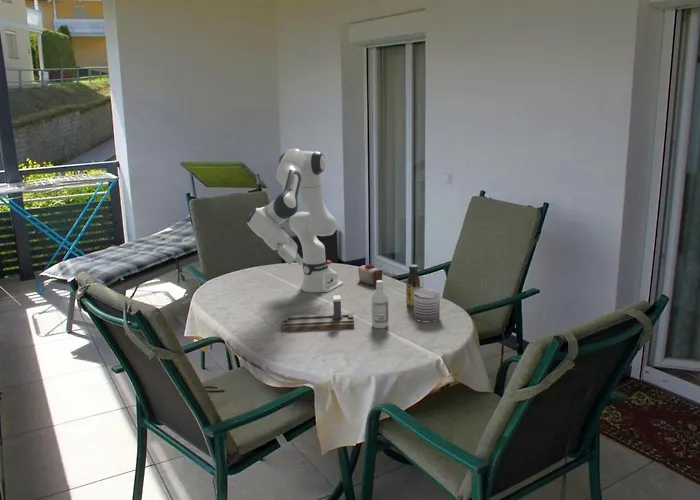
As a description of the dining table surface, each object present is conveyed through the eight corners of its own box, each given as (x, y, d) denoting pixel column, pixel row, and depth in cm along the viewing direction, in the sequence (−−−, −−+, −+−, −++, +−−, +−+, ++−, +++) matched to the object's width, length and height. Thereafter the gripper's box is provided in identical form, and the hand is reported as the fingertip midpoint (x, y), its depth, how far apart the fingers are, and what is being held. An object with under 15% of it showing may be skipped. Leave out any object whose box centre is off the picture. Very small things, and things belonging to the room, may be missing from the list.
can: (424, 311, 288) (424, 286, 285) (444, 317, 280) (445, 291, 277) (408, 318, 280) (408, 292, 277) (428, 324, 273) (428, 297, 270)
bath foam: (391, 327, 271) (390, 282, 266) (376, 330, 268) (376, 284, 263) (383, 321, 277) (382, 277, 272) (369, 324, 274) (368, 280, 269)
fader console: (283, 331, 269) (282, 323, 268) (284, 321, 281) (283, 313, 280) (354, 328, 271) (354, 320, 270) (352, 317, 282) (352, 310, 281)
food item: (356, 281, 334) (355, 263, 331) (368, 278, 339) (367, 260, 336) (373, 287, 323) (372, 268, 321) (385, 284, 328) (384, 265, 326)
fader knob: (333, 321, 273) (332, 299, 270) (332, 316, 278) (331, 295, 275) (342, 320, 273) (341, 299, 271) (341, 316, 278) (341, 295, 276)
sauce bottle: (405, 304, 297) (405, 263, 292) (418, 303, 298) (418, 262, 293) (407, 309, 291) (407, 267, 286) (421, 308, 292) (421, 266, 286)
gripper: (281, 242, 256) (306, 265, 259) (285, 229, 275) (308, 250, 278) (270, 252, 257) (295, 275, 260) (275, 238, 276) (298, 260, 280)
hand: (302, 262), depth 269 cm, fingers closed
